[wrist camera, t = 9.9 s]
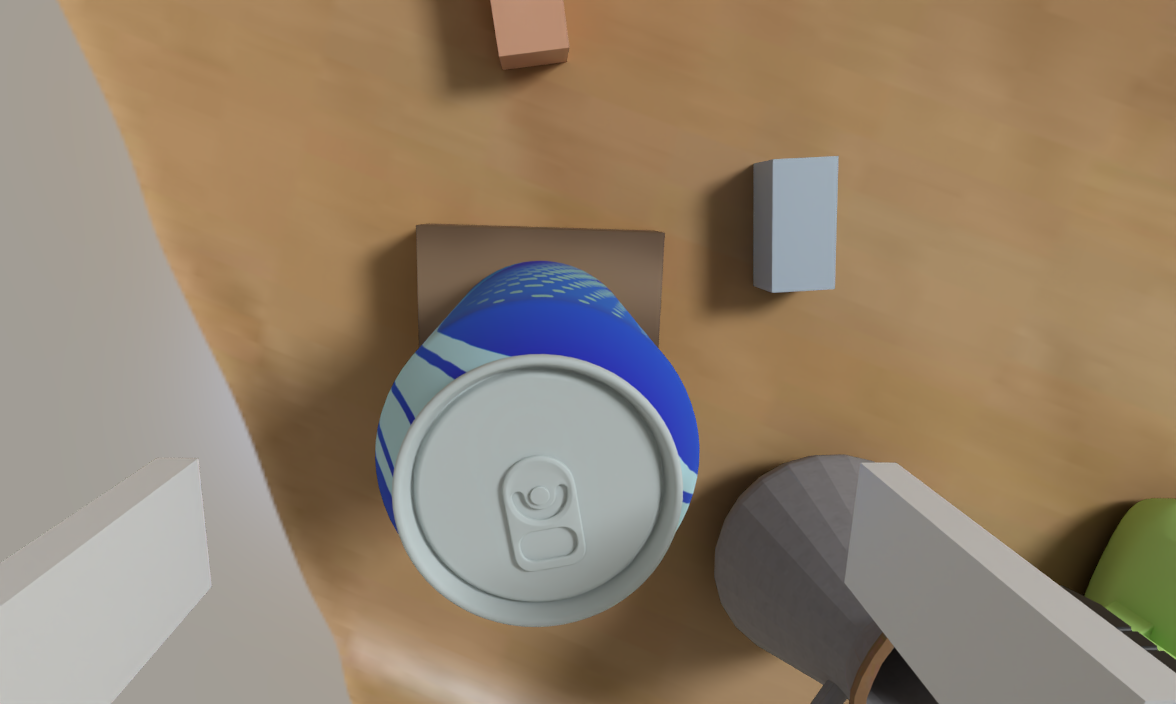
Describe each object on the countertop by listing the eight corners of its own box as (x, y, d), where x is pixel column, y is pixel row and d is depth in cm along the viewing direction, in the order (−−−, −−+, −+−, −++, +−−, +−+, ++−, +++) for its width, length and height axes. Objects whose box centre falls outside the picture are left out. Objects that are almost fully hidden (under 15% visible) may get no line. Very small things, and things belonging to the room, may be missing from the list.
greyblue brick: (752, 164, 32) (772, 159, 30) (812, 161, 33) (838, 156, 30) (752, 285, 34) (772, 292, 31) (809, 282, 34) (834, 288, 31)
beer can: (416, 383, 30) (282, 567, 15) (505, 223, 29) (463, 239, 14) (573, 466, 32) (603, 715, 16) (665, 317, 31) (794, 431, 15)
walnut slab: (428, 223, 32) (416, 225, 29) (653, 230, 33) (664, 233, 30) (431, 440, 34) (421, 461, 31) (642, 441, 35) (651, 463, 32)
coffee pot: (831, 393, 35) (1037, 526, 21) (940, 545, 38) (1194, 760, 23) (519, 626, 37) (504, 902, 22) (642, 757, 39) (702, 1083, 25)
